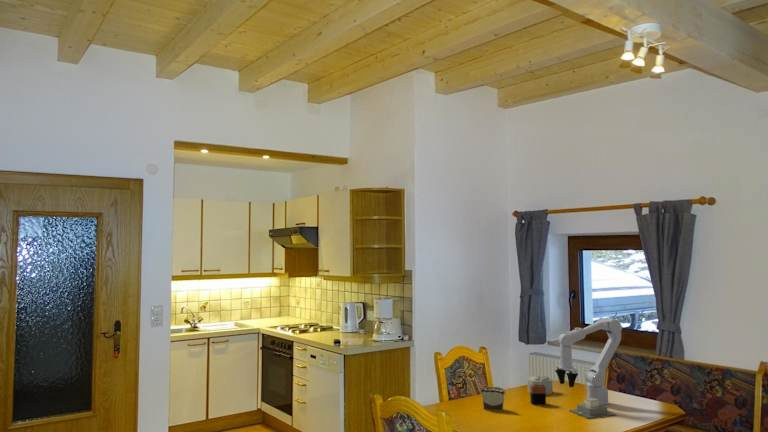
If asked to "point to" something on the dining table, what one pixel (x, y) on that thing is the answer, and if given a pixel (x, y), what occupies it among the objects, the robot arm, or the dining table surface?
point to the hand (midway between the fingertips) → (566, 385)
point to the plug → (591, 402)
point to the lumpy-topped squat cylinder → (543, 379)
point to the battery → (538, 394)
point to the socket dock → (592, 411)
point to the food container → (493, 398)
